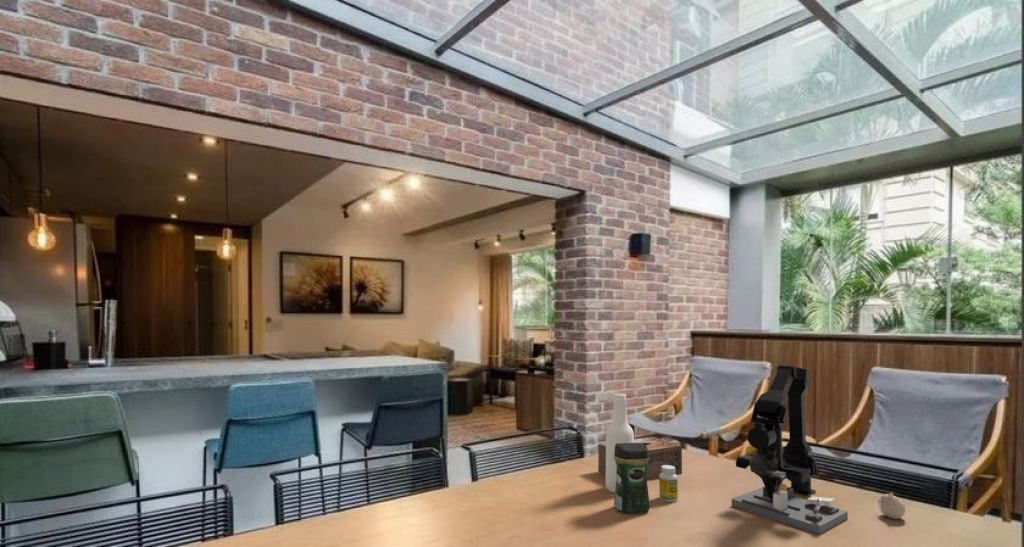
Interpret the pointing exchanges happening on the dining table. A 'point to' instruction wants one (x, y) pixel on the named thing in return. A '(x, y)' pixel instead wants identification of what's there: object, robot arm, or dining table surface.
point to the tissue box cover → (651, 456)
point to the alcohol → (616, 438)
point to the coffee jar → (631, 478)
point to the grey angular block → (780, 500)
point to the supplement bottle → (668, 484)
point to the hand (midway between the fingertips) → (771, 499)
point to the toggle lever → (818, 505)
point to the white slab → (826, 500)
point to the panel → (791, 511)
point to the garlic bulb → (891, 506)
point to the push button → (782, 487)
